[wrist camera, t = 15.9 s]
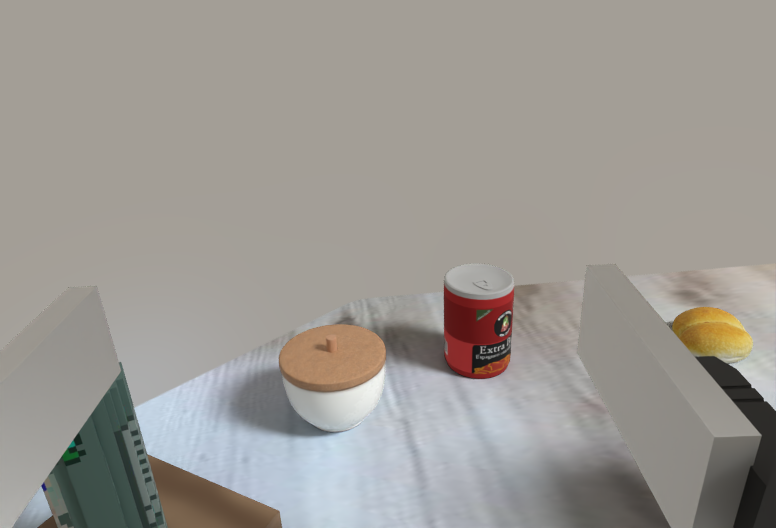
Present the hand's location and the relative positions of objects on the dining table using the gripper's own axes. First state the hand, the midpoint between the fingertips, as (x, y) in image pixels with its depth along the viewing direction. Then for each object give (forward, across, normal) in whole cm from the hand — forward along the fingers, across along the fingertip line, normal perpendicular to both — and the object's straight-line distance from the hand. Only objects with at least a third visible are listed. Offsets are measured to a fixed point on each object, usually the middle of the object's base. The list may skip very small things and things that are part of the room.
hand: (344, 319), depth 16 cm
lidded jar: (+36, -5, -32) cm, 49 cm away
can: (+16, -19, -28) cm, 38 cm away
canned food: (+44, +11, -32) cm, 56 cm away
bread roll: (+46, +39, -32) cm, 68 cm away
